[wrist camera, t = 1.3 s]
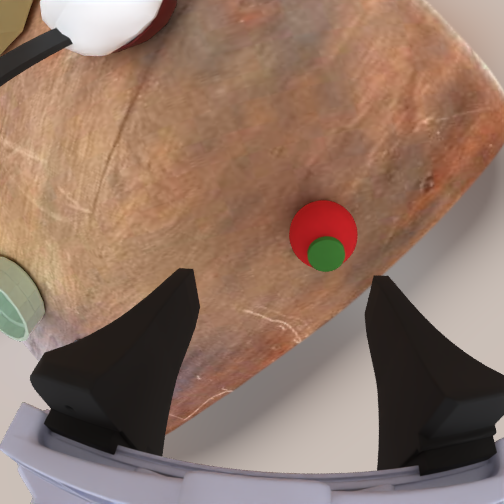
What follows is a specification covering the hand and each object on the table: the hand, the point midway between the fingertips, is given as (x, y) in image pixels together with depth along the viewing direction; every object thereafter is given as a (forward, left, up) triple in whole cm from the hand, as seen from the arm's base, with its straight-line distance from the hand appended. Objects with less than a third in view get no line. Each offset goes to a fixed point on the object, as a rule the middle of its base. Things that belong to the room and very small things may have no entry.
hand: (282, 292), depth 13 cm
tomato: (-1, -2, -9) cm, 9 cm away
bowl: (-10, +29, -8) cm, 32 cm away
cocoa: (+13, +9, -9) cm, 18 cm away
